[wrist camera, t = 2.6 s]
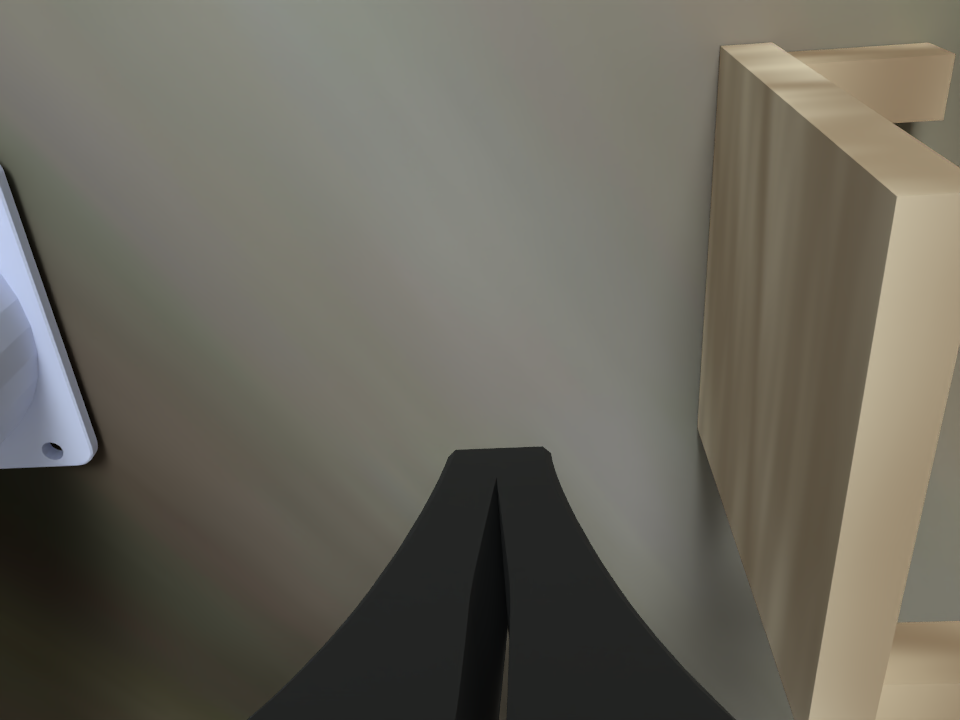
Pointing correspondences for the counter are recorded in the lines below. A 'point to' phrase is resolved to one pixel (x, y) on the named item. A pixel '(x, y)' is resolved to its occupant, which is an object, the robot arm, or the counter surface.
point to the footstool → (833, 362)
